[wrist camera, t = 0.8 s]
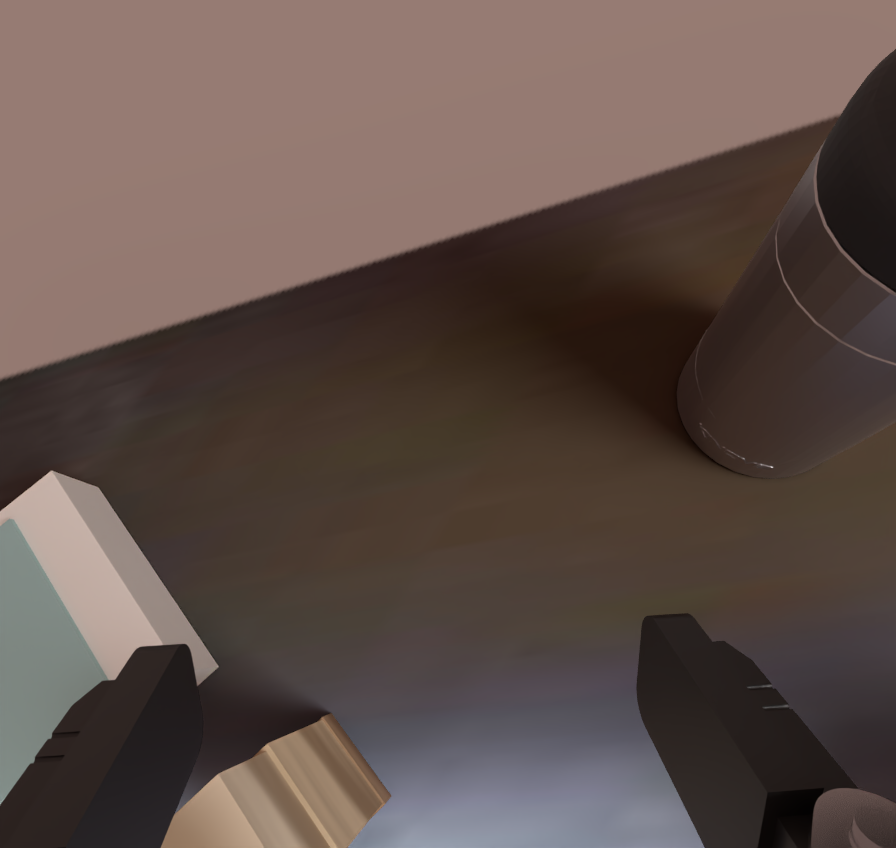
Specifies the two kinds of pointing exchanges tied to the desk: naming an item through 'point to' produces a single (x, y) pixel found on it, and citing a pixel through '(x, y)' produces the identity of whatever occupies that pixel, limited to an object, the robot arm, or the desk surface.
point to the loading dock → (71, 611)
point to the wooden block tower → (285, 796)
